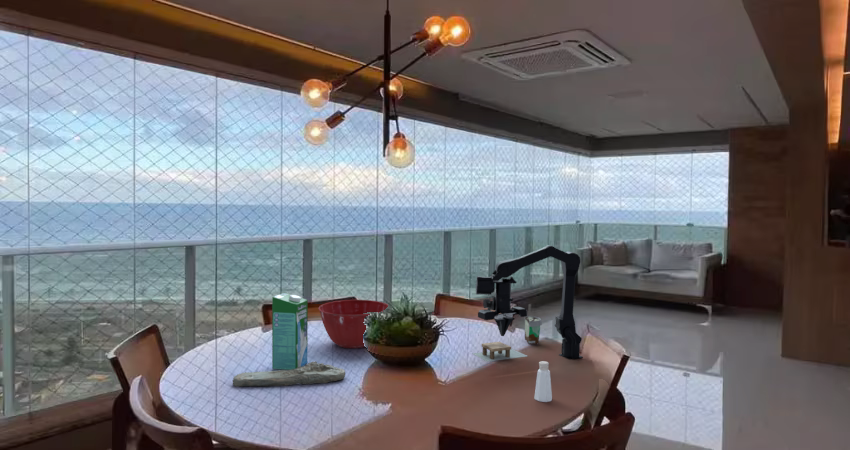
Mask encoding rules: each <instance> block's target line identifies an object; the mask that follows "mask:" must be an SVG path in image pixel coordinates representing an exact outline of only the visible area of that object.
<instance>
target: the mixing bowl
mask: <svg viewBox="0 0 850 450" xmlns="http://www.w3.org/2000/svg"><path fill="white" fill-rule="evenodd" d="M388 305H389V304H388V303H386V302H382V301H377V300H369V299H344V300H335V301H330V302H326V303H323V304H321V305H319V307H318V310H319V313H320V314H319V315H320V318H321V321H322V325H323V327H324V329H325V332H326V333H327V335H328V337H329V339H330V341H332V342H333V343H334V344H335V345H337V346H338V347H340V348H344V349H362V348H365V347H364V343H363V334H364V332H365V330H366V325H364V323H363V322H364V318H365V317H366V316H368V315H370V314H363V313H367V312H378V313H379V312H381V311H382V312H383V310H385V309H386V308H387V307H388Z"/></svg>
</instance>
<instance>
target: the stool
mask: <svg viewBox="0 0 850 450" xmlns="http://www.w3.org/2000/svg"><path fill="white" fill-rule="evenodd" d="M481 347H482V352H483V355H487V352H488V351H490V359H494V352H495V351H498V353H499V354H500V353H502V351H503V350H505V356H506V357H510V350H511V349H512V346H511V345H508V344H505V343H504V342H501V341H494V342H493V341H492V342H486V343H485V342H483V343H481Z"/></svg>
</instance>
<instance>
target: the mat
mask: <svg viewBox="0 0 850 450" xmlns="http://www.w3.org/2000/svg"><path fill="white" fill-rule="evenodd" d="M472 355H473V356H476V357H478V358H480V359H481V360H482V361H485V362H486V363H487V362H494V361H503V360H510V359H517V358H525V357H528V355H526V354H524V353H522V352H520V351H517V350H516V349H513V348H511V350H510V357H506V356H505V350H503V351H502V353H500V354H499V353H498V351H495V352H494V359H490V350H487V355H483V351H482V352H473V353H472Z"/></svg>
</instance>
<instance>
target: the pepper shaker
mask: <svg viewBox="0 0 850 450" xmlns="http://www.w3.org/2000/svg"><path fill="white" fill-rule="evenodd" d="M538 365H539V369H537V373H536V381H535V388H534V389H535V391H534V398H533V399H534V400H535V401H538V402H541V403H542V402H543V403H548V402H552V401H553V400H552V399H553V393H552V382H551V381H552V380H551V370H549V365H550V364H549V362H548V361H545V360H542V361H539V362H538Z"/></svg>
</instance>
